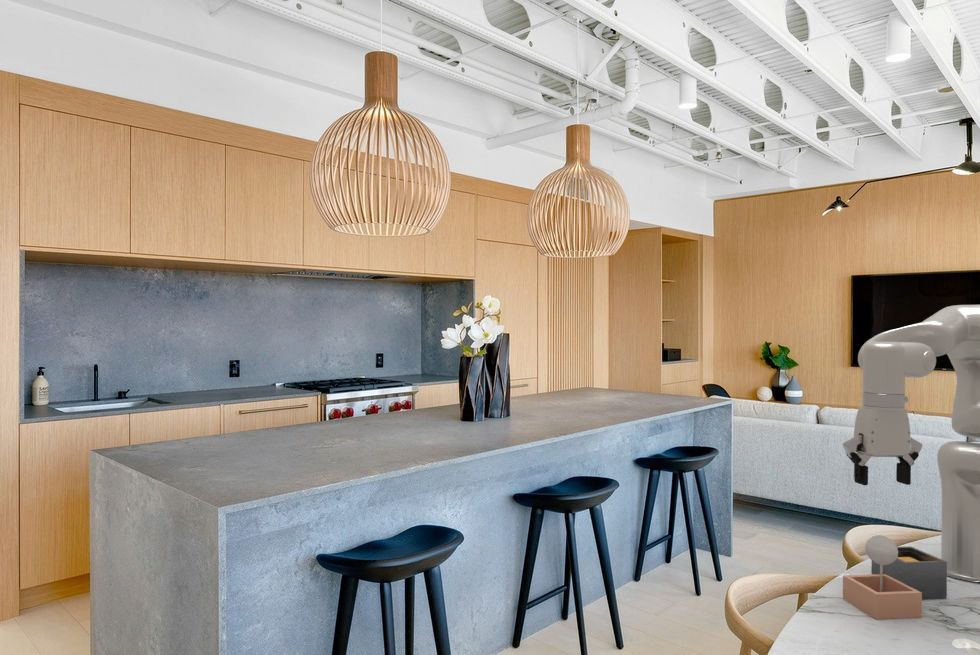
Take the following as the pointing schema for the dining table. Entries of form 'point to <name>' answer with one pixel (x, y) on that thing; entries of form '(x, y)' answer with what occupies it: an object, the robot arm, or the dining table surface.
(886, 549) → the lollipop
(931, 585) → the box
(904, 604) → the tool holder
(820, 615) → the dining table surface
